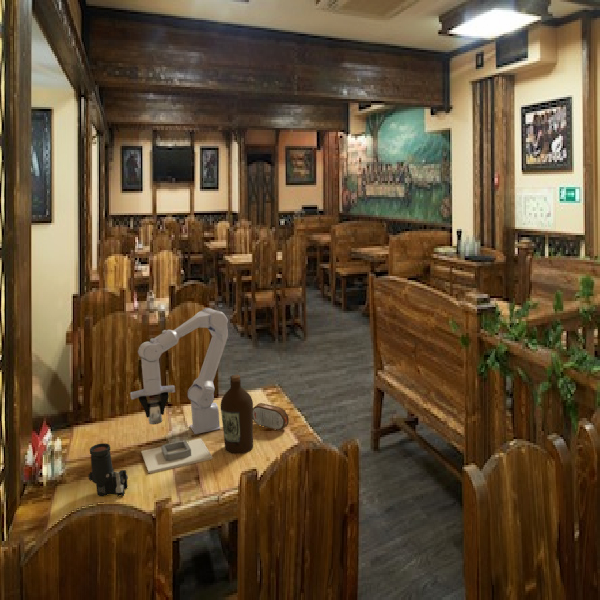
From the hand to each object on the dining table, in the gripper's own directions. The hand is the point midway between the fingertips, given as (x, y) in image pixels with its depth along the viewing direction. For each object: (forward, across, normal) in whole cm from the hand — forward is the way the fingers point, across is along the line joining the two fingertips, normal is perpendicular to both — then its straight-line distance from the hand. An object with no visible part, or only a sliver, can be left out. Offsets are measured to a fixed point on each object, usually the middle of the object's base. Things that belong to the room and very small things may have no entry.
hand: (155, 415), depth 179 cm
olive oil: (+10, -24, +18) cm, 31 cm away
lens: (+2, 0, 0) cm, 2 cm away
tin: (+10, -39, +8) cm, 41 cm away
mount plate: (+10, -4, +14) cm, 17 cm away
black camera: (+10, +18, +27) cm, 34 cm away
